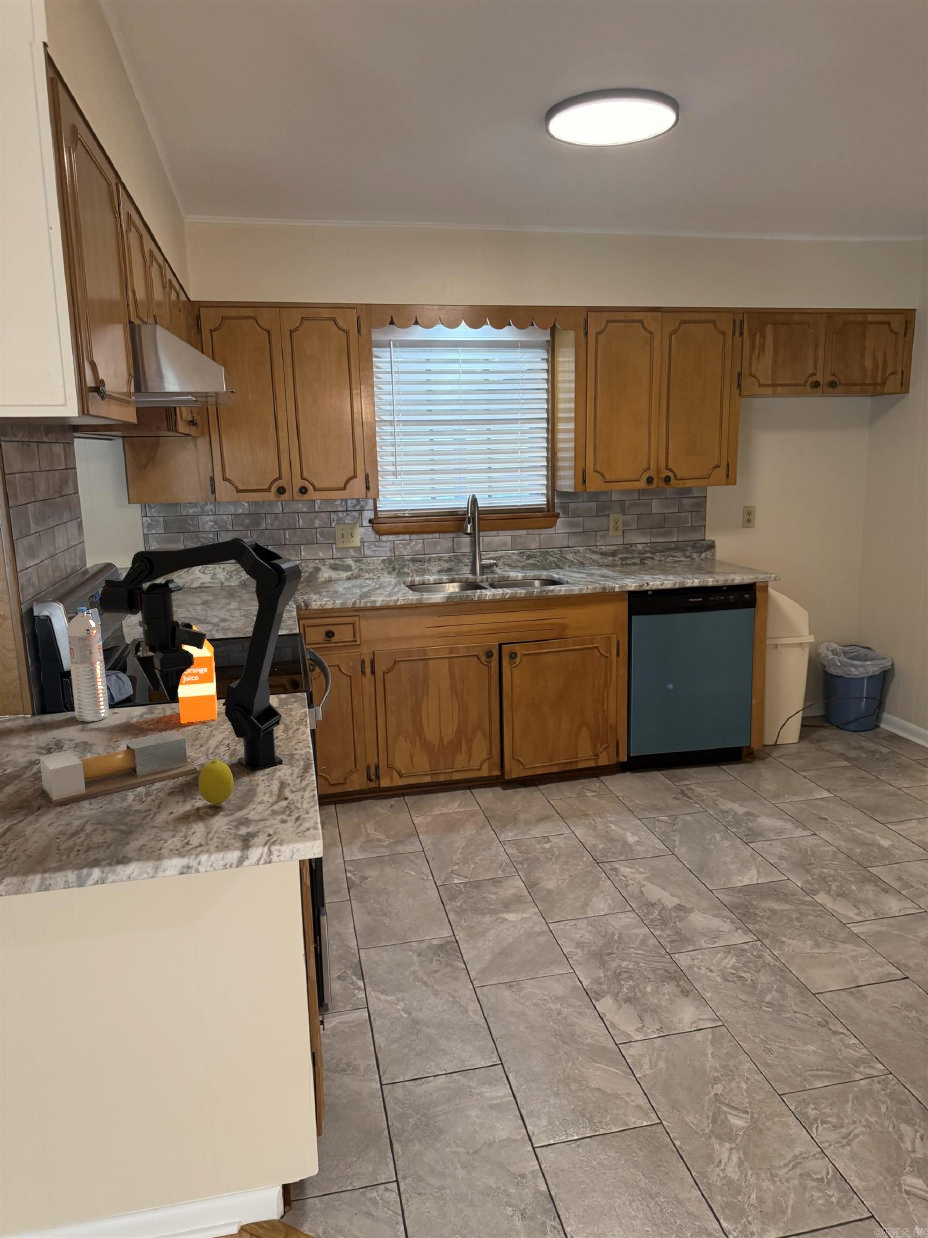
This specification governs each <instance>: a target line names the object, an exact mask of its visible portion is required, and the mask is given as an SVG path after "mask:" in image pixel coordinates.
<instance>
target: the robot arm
mask: <svg viewBox="0 0 928 1238" xmlns="http://www.w3.org/2000/svg"><path fill="white" fill-rule="evenodd" d="M230 561H235V562H236V563H238V565H239V566H240V568H241V569H242V570H243V571H244V572H245V574H246V575H247V576H249V577H250V578H252V579H253V580H254V581H255V588H254V589H255V590H254V591H255V597H256V599H257V601H256V602H257V603H258V605H257V612H256V616H255V620H254V623H253V627H252V632H251V637H250V641H249V645H248V650H247V654H246V657H245V661H244V666H243V670H242V675H241V677H240V678H239V679H237V680H236V681H234V682H232V683H230V684H228V685H227V688H226V693H225V694H226V695H225V699H224V702H223V703H222V707H224V716H225V718H227V720H228V722H229V723H230V726H231V727H232V729H233V732H234V735H235V736H236V738H237V739H242V740H243V754H244V756H243V757H240V758H239V757H238V759H237V762H238V763H239V764H241V765H243V766H244V767H245V768H247V769H249V771H256V770H260V769H263V768H268V767H272V766H275V765H279V764H283V763H282V762H284V760H283V759H282V758H280V757H278V756H277V755H276V740H275V728H276V727H277V726H278V727H279V725H280V724H281V722H282V721H281V720H282V717H283V714H282V713H280V711H278V710H277V709H276V708H275V706H274V705H272V703H270V697H271V691H270V685H269V682H268V677H269V674H270V670H271V665H272V661H273V659H274V653H275V649H276V645H277V641H278V639H279V638H278V637H279V632H280V630H281V629H280V628H281V624H282V622H283V617H284V614H285V613H284V612H285V609H286V607H287V606H288V604H289V603H290V602H291V600H292V599H293V597H294V596H295V594H296V592H297V590H298V587H299V584H300V583H301V580H302V576H303V575H302V574H303V572H302V569H301V568H300V566H299V564H298V563H297V562H296V561H295V560H294V559H291V558H289V557H284V556H283V555H281V554H280V553H278V552H277V551H275V550H273V549H270V548H269V547H267V546H265V545H263V544H261V543H259V542H258V541H257V540H255V539H254V538H252V537H251V536H248V535H245V536H238V537H234V538H231V539H230V540H225V541H220V542H213V543H209V544H202V545H198V546H194V547H193V546H192V547H185V548H180V547H155V548H151V549H150V548H149V549H146V550H139V551H137V552H135V553H133V557H132V559H131V563H130V567H129V569H128V570H127V572H126V573H125V575H124V577H123V579H121V578H117V577H110V578H106V579H105V580H104V586H103V588H102V589H101V592H100V595H99V598H98V603H99V604H98V605H99V607H100V609H101V611H102V612H103V614H106V615H121V616H122V615H123V616H124V615H126V616H127V615H128V616H130V615H131V616H136V615H138V614H139V613H140V616H141V617H140V618H141V620H138V626H139V627H140V628H141V629H142V637H136V638H133V639H132V640H130V642H129V644H128V645H129V652H130V654H131V655H132V657H133V659H134V661H135V662H136V664H137V665H138V667H139V668H140V671H141V672H142V673H143V675H144V677H145V679H146V681H147V682H148V684H149V686H150V688H151V689H152V691H153V692H159V691H160V685H161V687H162V689H163V691H164V693H165V695H166V697H167V699H168V701H169V702H170V703H173V702H176V700H177V697H178V688H179V684H180V680H181V677H182V674H183V673H184V672H185V671H186V670H187V669H190V668H191V666H193V665H194V656H193V654H192V653H190V652H189V651H187V650H185V649H183V648H182V645H187V646H192V647H196V648H197V649H203V646H204V642H205V639H206V640H207V635H208V633H205V632H203V631H200V630H199V629H198V630H195V629H193V626H194V625H193V624H192V623H190V622H186V621H181V622H179V621H178V620H176V619H175V616H174V614H175V613H174V603H173V602H174V601H173V594H174V593H178V592H181V591H183V590H184V589H183V587H182V586H181V585H180V584H179V583H177V582H176V581H175V580H174V579H173V578H169V577H171V576H173V575H176V574H179V573H181V572H183V571H185V570H187V569H190V568H197V567H202V566H208V565H212V564H213V565H214V564H218V563H224V562H230ZM164 578H169V579H166V580H165V581H164V582H156V581H158V580H161V579H164ZM149 583H150V584H149ZM146 584H149V585H148V586H145V587H144V585H146Z"/></svg>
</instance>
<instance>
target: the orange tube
mask: <svg viewBox="0 0 928 1238" xmlns="http://www.w3.org/2000/svg"><path fill="white" fill-rule="evenodd" d="M80 760H81V762H82V763H83V773H84V780H87V779H91V778H95V777H100V776H104V775H108V774H113V773H117V772H122V771H126V770H130V769H135V768H136V767H135V756H134V750H133V749H128V750H126V749H125V750H119V751H114V752H110V753H105V754H101V755H95V756H91V757H85V758H82V759H80Z"/></svg>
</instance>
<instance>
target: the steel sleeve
mask: <svg viewBox="0 0 928 1238" xmlns="http://www.w3.org/2000/svg"><path fill="white" fill-rule="evenodd" d="M124 743H125V750H128V749H133V750H134V756H135V767H136V768H135V769H130V771H131V772H132V773H133V774H134V775H135V776H136V777H137V778H138V777H142V776H147V775H151V774H155V773H159V772H164V771H168V770H172V769H176V768H180V767H185V766H187V761H188V758H187V757H188V756H187V747H186V745H187V744H186V743H187V742H186V737H185V736H184V735H181V733H179V732H177V731H176V730H169V731H164V732H161V733H160V732H159V733H155V734H152V735H147V736H146V735H145V736H141V737H135V738H132V739H127V740H124Z"/></svg>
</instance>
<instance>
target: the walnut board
mask: <svg viewBox="0 0 928 1238" xmlns="http://www.w3.org/2000/svg"><path fill="white" fill-rule="evenodd" d="M195 773H198V768H197V767H196V766H195V765H194V764H192V763H191V762H190V761H189V760H187V766H185V767H180V768H176V769H172V770H168V771H164V772H159V773H155V774H151V775H147V776H142V777H138V778H137V777H136V776H135V775H134V774H133V773H132V772H131V771H130V770H126V771H122V772H117V773H113V774H108V775H104V776H100V777H95V778H91V779H87V780H84V782H85V792H86V793H81V794H77V795H73V796H69V797H65V798H61V799H56V800H53V799H52V797H51V796H50V795H49V793H48V792H47V791H46V789H45V788H44V787H43V783H42V784H41V789H42V790H43V791H44V793H45V795H46V796H47V797H48V798H49V800H50V802H52V803H53V805H54V806H55V807H59V806H63V805H67V804H73V803H76V802H79V801H84V800H88V799H93V798H95V797H100V796H104V795H110V794H113V793H117V792H122V791H125V790H128V789H132V788H133V789H134V788H137V787H138V788H139V787H142V786H146V785H150V784H153V783H159V782H163V781H166V780H170V779H175V778H178V777H182V776H187V775H190V774H191V775H192V774H195Z"/></svg>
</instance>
